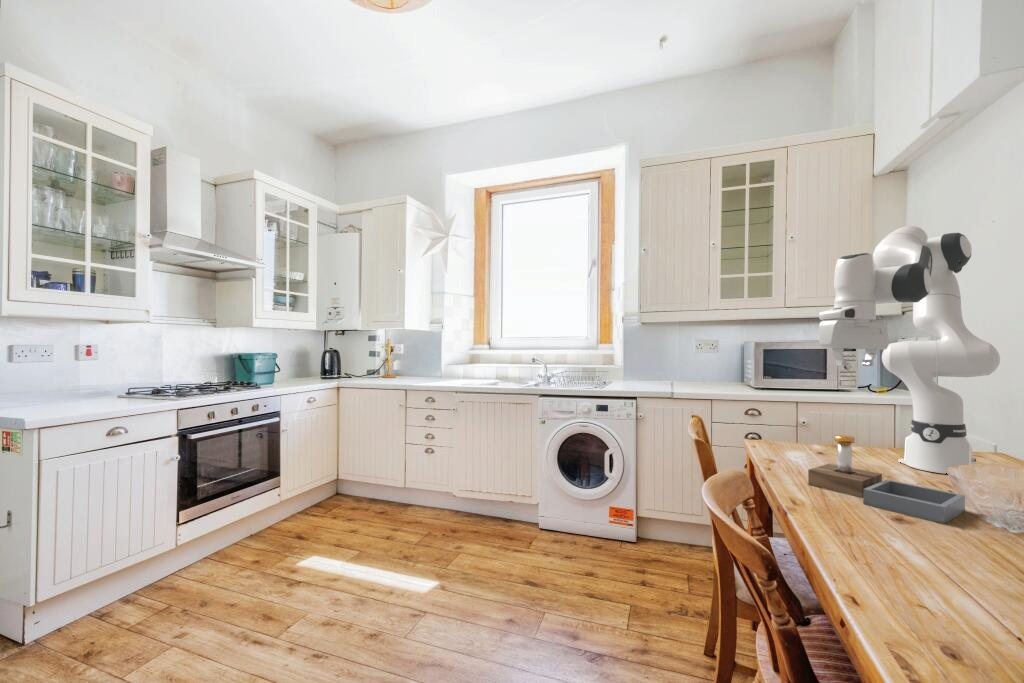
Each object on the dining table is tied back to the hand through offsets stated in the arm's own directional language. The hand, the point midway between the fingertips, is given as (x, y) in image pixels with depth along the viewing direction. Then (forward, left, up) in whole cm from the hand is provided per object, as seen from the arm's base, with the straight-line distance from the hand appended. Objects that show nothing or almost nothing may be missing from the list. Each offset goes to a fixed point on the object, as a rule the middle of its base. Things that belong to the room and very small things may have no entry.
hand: (854, 365), depth 118 cm
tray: (+7, +14, -32) cm, 35 cm away
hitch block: (+3, -1, -32) cm, 32 cm away
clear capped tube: (+3, -1, -32) cm, 32 cm away
